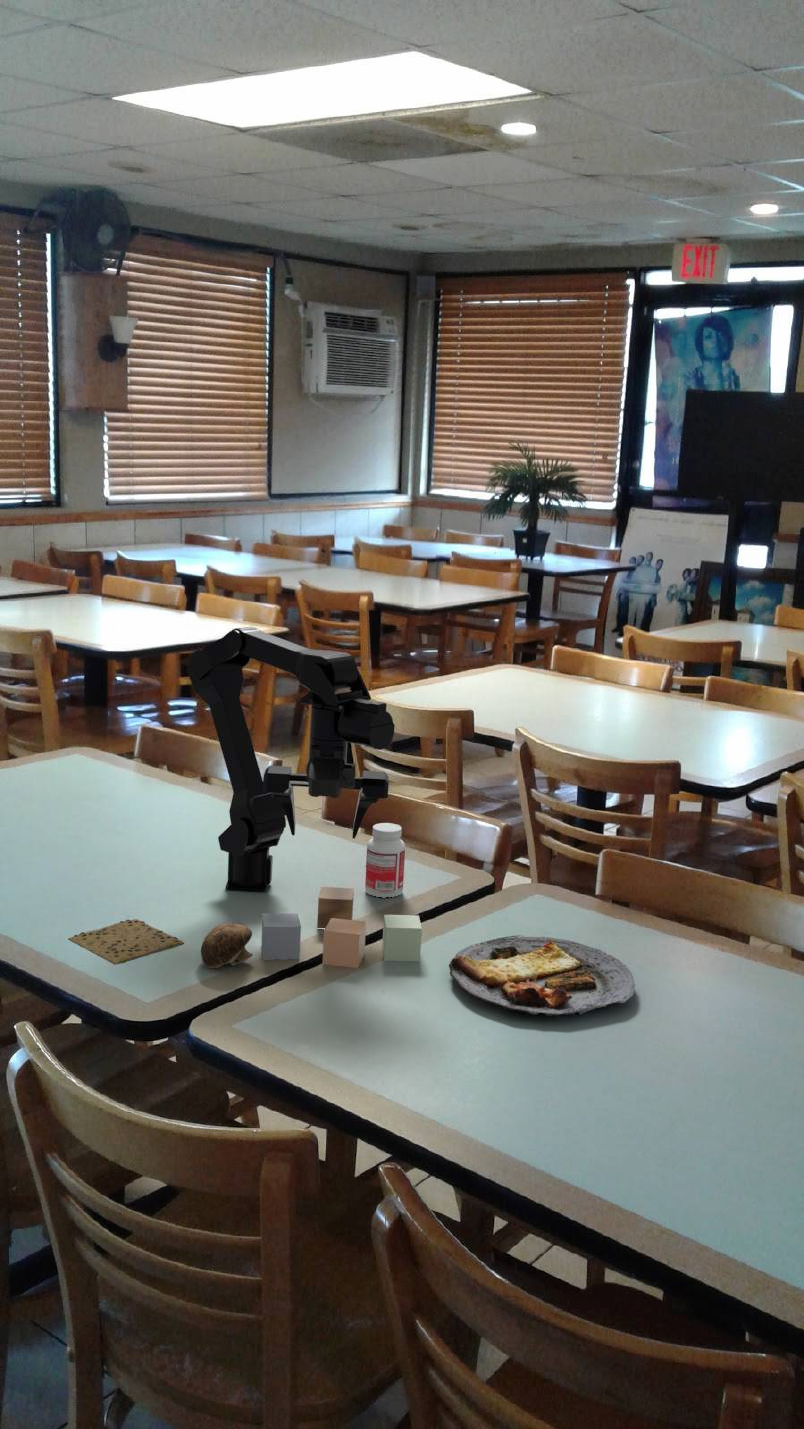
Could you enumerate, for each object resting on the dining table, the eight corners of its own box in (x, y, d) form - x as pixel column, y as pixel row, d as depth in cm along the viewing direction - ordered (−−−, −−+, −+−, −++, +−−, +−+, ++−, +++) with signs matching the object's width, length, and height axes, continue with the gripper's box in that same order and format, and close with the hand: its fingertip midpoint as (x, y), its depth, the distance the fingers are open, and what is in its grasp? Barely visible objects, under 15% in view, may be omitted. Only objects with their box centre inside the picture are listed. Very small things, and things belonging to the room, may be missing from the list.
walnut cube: (317, 930, 187) (318, 898, 186) (319, 917, 192) (320, 886, 191) (350, 931, 187) (352, 899, 186) (352, 919, 192) (353, 888, 191)
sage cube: (384, 961, 177) (386, 927, 176) (382, 947, 182) (384, 914, 181) (419, 962, 178) (422, 928, 176) (416, 948, 182) (418, 915, 181)
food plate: (507, 1038, 156) (509, 1011, 155) (418, 966, 176) (419, 943, 176) (666, 1007, 168) (668, 982, 167) (565, 943, 188) (567, 921, 187)
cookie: (64, 941, 178) (64, 935, 178) (136, 921, 187) (136, 915, 187) (114, 968, 170) (114, 961, 170) (186, 946, 179) (186, 939, 179)
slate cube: (263, 960, 175) (264, 926, 174) (261, 946, 180) (262, 913, 179) (299, 960, 176) (301, 926, 175) (296, 946, 181) (297, 913, 180)
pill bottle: (386, 883, 208) (390, 819, 206) (410, 894, 204) (414, 829, 202) (356, 890, 204) (360, 824, 202) (380, 901, 200) (384, 834, 198)
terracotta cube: (322, 964, 175) (323, 930, 174) (329, 951, 180) (331, 917, 178) (357, 968, 174) (359, 934, 173) (364, 954, 179) (366, 921, 178)
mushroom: (275, 940, 174) (248, 906, 172) (246, 979, 168) (218, 944, 166) (238, 951, 178) (211, 918, 177) (208, 990, 173) (181, 956, 171)
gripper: (261, 745, 181) (257, 849, 184) (391, 753, 181) (385, 856, 185) (268, 728, 192) (263, 827, 195) (390, 735, 192) (384, 833, 196)
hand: (323, 836), depth 192 cm, fingers open, 9 cm apart
